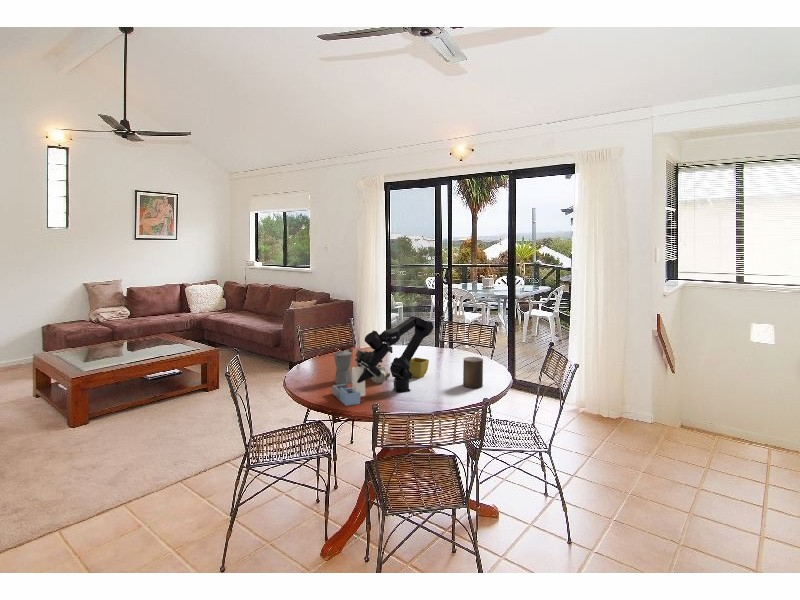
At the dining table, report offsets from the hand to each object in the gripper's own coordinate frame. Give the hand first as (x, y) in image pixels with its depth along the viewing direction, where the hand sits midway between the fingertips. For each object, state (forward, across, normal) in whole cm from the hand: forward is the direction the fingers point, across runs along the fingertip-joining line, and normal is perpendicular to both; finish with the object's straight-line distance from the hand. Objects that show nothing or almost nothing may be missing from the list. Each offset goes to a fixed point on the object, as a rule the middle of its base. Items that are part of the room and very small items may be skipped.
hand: (355, 381), depth 220 cm
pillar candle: (-36, +5, +50) cm, 61 cm away
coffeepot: (+3, -30, +10) cm, 32 cm away
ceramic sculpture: (-9, -24, +22) cm, 34 cm away
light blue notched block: (+9, 0, +4) cm, 10 cm away
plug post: (+4, 0, +6) cm, 7 cm away
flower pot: (-24, -21, +37) cm, 49 cm away
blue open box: (+9, -9, +4) cm, 13 cm away
